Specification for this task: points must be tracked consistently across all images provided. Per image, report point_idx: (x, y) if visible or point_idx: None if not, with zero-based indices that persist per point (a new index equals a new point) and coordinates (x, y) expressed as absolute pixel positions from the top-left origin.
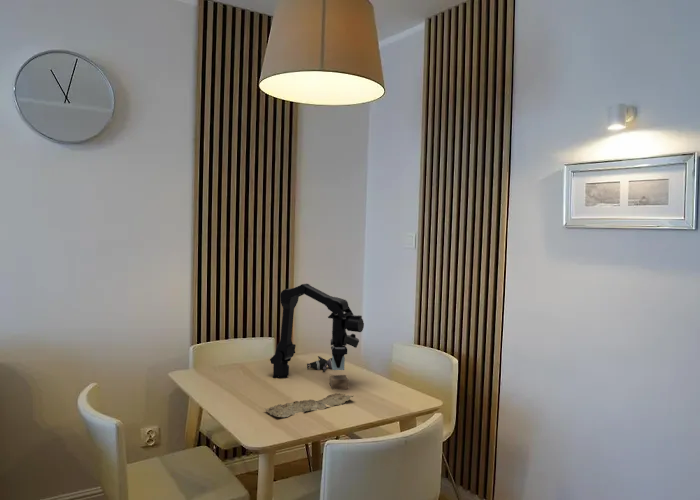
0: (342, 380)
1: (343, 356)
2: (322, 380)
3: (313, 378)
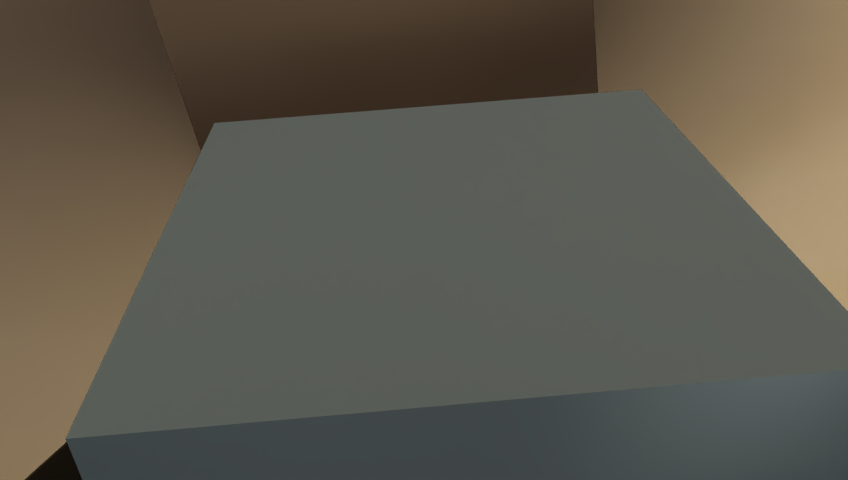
0: (591, 41)
1: (425, 445)
2: (94, 341)
3: (29, 458)
